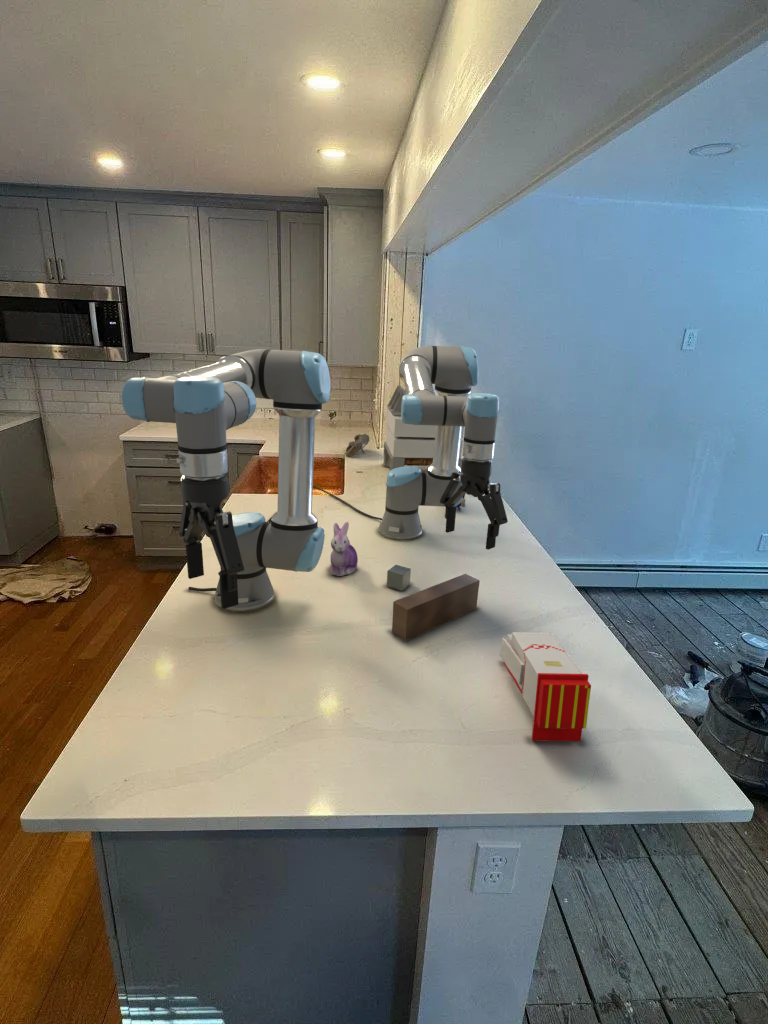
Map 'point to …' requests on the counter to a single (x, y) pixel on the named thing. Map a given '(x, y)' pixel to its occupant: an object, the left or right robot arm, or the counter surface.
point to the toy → (548, 685)
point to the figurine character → (461, 503)
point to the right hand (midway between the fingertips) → (469, 539)
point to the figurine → (342, 552)
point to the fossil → (357, 445)
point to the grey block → (398, 577)
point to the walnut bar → (434, 606)
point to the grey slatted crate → (408, 438)
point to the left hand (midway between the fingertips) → (212, 590)
